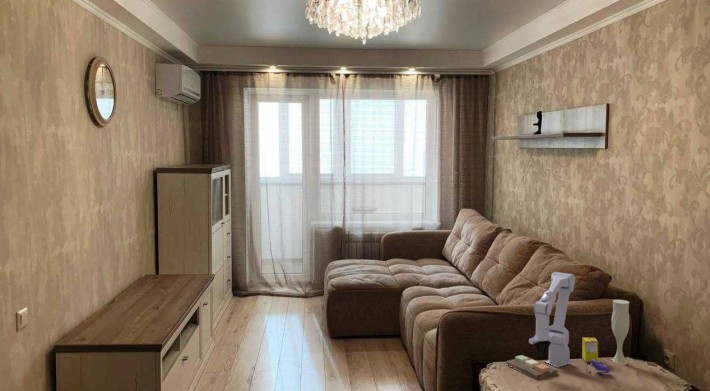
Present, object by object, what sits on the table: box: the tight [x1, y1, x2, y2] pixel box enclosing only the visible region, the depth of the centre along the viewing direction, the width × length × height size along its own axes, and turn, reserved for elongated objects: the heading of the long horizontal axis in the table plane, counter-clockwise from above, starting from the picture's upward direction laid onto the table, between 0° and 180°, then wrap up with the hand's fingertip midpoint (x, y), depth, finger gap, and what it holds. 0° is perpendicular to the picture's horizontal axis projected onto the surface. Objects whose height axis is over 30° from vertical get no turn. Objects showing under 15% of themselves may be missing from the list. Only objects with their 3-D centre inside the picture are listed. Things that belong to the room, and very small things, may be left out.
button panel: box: [505, 356, 559, 381], centre depth 267 cm, size 13×20×2 cm, turn 27°
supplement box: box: [581, 336, 599, 363], centre depth 277 cm, size 6×6×11 cm
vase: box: [611, 299, 630, 363], centre depth 274 cm, size 9×8×30 cm
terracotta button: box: [535, 363, 549, 373], centre depth 261 cm, size 4×4×2 cm
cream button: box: [525, 359, 540, 368], centre depth 267 cm, size 4×4×2 cm
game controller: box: [585, 356, 610, 379], centre depth 262 cm, size 10×8×10 cm
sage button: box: [514, 354, 530, 364], centre depth 272 cm, size 4×4×2 cm
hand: (542, 356), depth 260 cm, fingers closed
